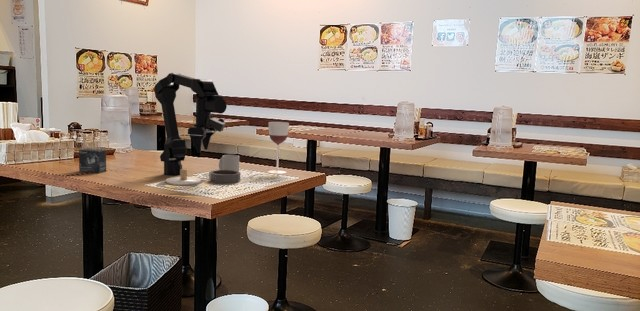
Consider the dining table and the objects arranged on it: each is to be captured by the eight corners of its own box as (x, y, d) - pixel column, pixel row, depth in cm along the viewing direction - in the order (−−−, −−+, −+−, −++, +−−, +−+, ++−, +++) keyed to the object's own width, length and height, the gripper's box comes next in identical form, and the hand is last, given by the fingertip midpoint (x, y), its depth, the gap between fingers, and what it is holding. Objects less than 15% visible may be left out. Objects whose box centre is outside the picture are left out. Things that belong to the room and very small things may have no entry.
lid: (160, 184, 185) (160, 171, 185) (174, 178, 198) (174, 166, 197) (193, 186, 184) (193, 173, 183) (205, 180, 197) (205, 167, 196)
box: (78, 172, 206) (78, 149, 205) (86, 170, 211) (86, 148, 210) (98, 173, 204) (98, 151, 203) (106, 171, 210) (106, 149, 209)
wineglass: (263, 172, 224) (264, 122, 221) (273, 169, 234) (275, 121, 231) (281, 174, 221) (282, 123, 218) (290, 171, 230) (292, 122, 227)
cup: (231, 178, 206) (232, 157, 205) (213, 175, 211) (213, 155, 210) (242, 176, 212) (242, 156, 211) (224, 173, 217) (224, 153, 216)
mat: (158, 185, 185) (158, 184, 185) (173, 179, 199) (173, 177, 199) (194, 188, 183) (194, 186, 183) (207, 181, 197) (207, 180, 197)
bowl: (205, 183, 192) (205, 173, 192) (215, 178, 204) (215, 169, 203) (234, 185, 191) (235, 175, 190) (243, 180, 203) (243, 171, 202)
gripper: (216, 114, 182) (215, 155, 184) (229, 111, 200) (228, 149, 202) (187, 112, 183) (186, 153, 185) (203, 110, 201) (202, 147, 203)
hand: (202, 151), depth 194 cm, fingers open, 9 cm apart
